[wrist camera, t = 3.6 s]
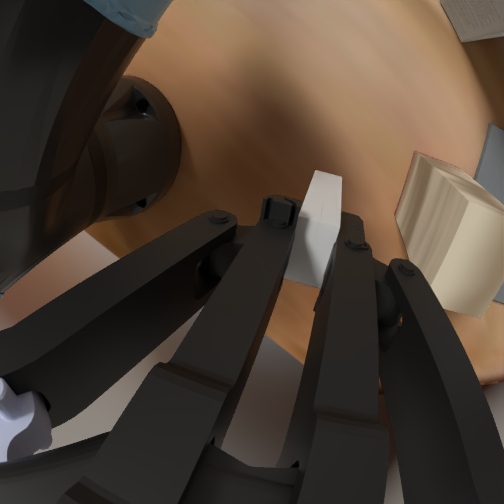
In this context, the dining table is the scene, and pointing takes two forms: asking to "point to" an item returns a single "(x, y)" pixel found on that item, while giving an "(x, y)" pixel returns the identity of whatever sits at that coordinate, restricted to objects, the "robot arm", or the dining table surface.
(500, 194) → the slate mat
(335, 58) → the dining table surface
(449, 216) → the beech block
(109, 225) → the dining table surface
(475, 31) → the skincare box
